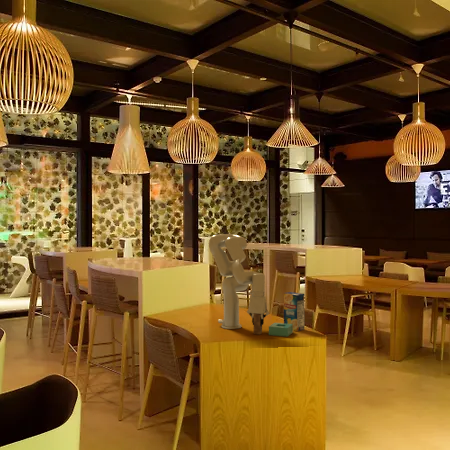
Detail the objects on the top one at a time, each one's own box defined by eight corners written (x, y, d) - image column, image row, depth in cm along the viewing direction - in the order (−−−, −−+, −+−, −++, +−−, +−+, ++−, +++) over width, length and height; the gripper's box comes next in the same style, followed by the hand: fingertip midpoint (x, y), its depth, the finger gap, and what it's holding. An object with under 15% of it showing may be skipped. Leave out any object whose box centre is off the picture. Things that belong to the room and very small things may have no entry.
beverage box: (297, 331, 314) (297, 295, 314) (283, 328, 322) (283, 293, 322) (304, 329, 319) (304, 293, 318) (291, 326, 327) (290, 291, 326)
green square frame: (268, 334, 305) (268, 326, 305) (274, 330, 316) (274, 322, 316) (287, 336, 301) (287, 328, 301) (292, 332, 311) (292, 324, 311)
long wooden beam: (253, 333, 307) (253, 310, 306) (255, 332, 310) (255, 309, 310) (259, 334, 305) (260, 310, 305) (262, 333, 309) (262, 309, 308)
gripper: (242, 294, 307) (242, 324, 307) (269, 296, 300) (269, 327, 301) (247, 292, 314) (246, 322, 314) (273, 294, 307) (273, 324, 308)
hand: (257, 324), depth 308 cm, fingers closed on long wooden beam, 4 cm apart
